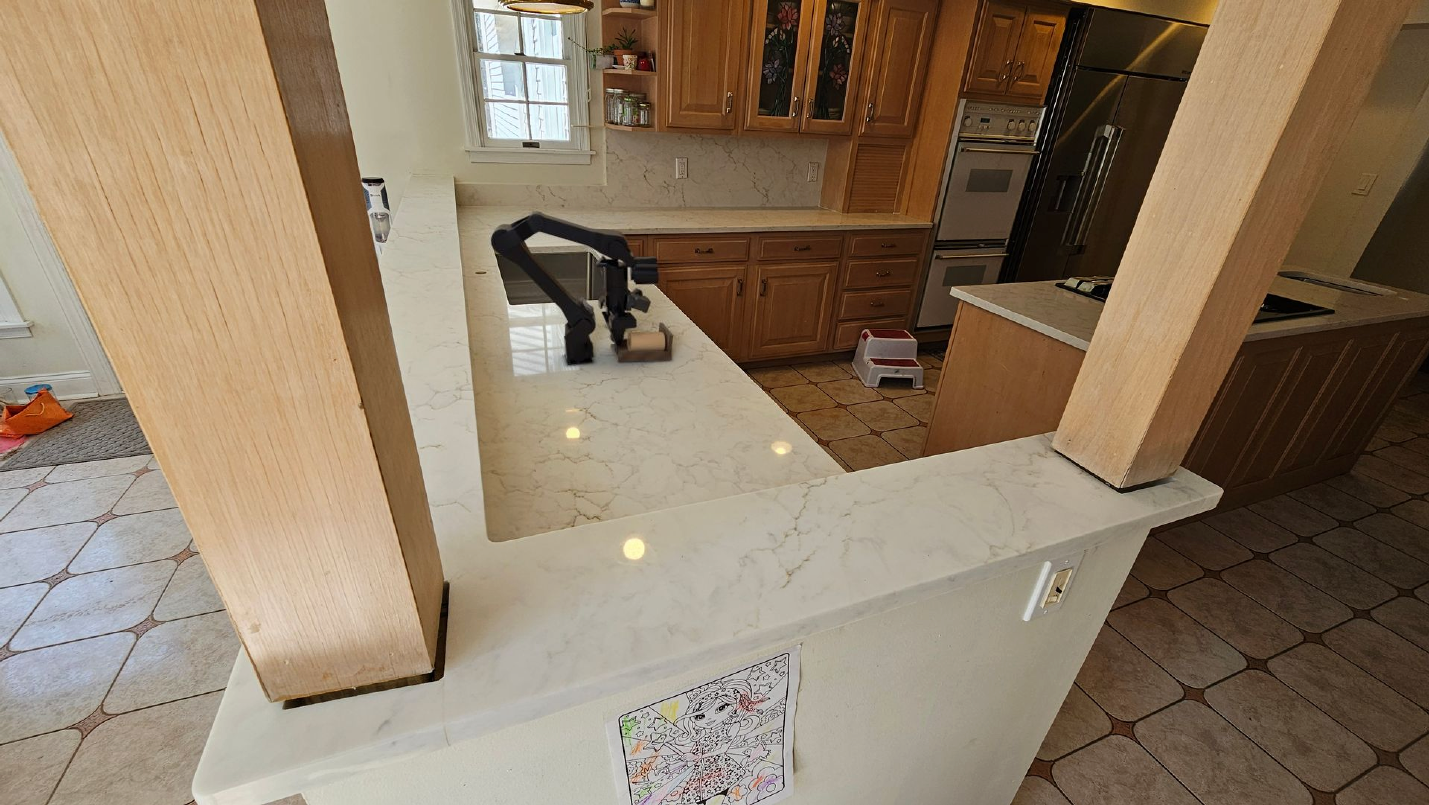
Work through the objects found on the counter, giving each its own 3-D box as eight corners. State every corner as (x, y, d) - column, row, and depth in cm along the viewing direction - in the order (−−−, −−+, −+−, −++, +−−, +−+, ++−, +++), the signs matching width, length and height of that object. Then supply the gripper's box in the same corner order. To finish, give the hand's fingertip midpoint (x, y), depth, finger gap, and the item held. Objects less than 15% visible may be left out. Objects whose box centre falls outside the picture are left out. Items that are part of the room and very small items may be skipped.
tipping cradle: (613, 361, 154) (614, 336, 151) (605, 347, 163) (606, 322, 160) (670, 360, 160) (673, 335, 157) (660, 346, 168) (662, 322, 165)
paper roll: (630, 355, 158) (632, 338, 155) (626, 345, 162) (627, 328, 159) (663, 354, 161) (666, 338, 158) (659, 345, 165) (661, 328, 162)
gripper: (657, 293, 146) (656, 354, 153) (639, 273, 161) (639, 328, 168) (611, 295, 142) (612, 357, 149) (597, 274, 157) (598, 331, 164)
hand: (617, 343), depth 158 cm, fingers closed on tipping cradle, 3 cm apart
